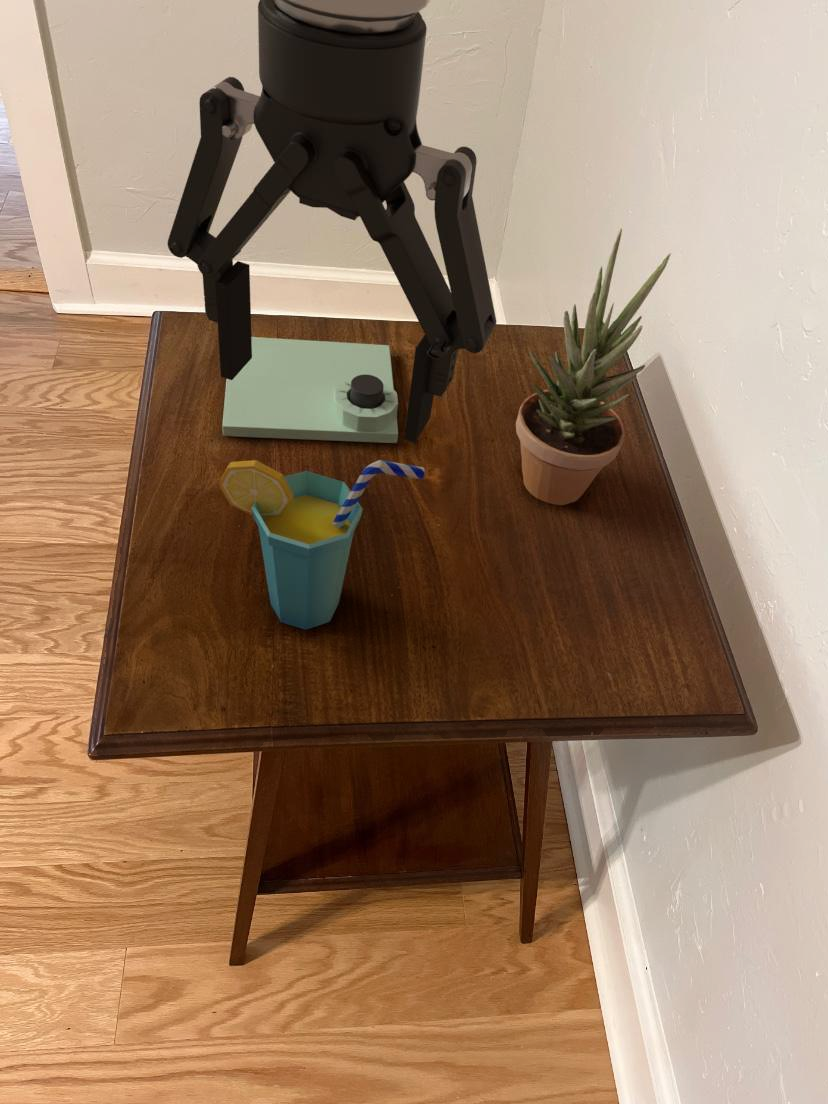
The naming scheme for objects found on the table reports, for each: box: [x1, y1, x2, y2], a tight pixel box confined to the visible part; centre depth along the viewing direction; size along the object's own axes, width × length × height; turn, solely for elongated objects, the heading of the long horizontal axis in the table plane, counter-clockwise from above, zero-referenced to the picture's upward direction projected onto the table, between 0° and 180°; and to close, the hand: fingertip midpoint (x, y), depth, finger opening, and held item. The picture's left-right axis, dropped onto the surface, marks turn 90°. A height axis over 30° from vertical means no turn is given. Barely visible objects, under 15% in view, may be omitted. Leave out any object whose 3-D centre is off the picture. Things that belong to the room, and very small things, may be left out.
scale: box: [221, 336, 399, 444], centre depth 88 cm, size 16×14×3 cm
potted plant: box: [515, 227, 672, 506], centre depth 76 cm, size 10×10×25 cm
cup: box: [217, 459, 426, 631], centre depth 66 cm, size 14×8×15 cm, turn 97°
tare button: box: [350, 375, 383, 409], centre depth 84 cm, size 3×3×2 cm
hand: (325, 397), depth 57 cm, fingers open, 11 cm apart
